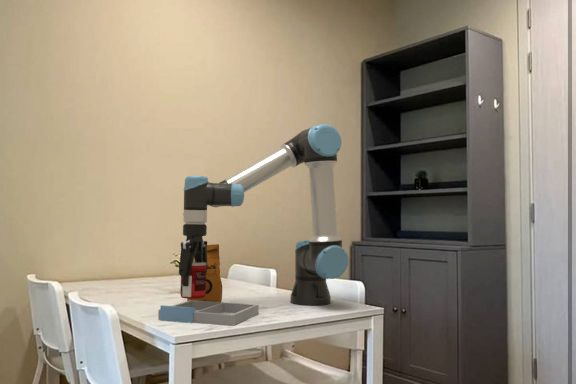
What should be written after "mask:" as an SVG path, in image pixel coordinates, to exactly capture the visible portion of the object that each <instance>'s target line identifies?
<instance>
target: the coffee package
mask: <svg viewBox="0 0 576 384" xmlns="http://www.w3.org/2000/svg"><path fill="white" fill-rule="evenodd" d="M220 259H221V257H220V244H219V243H218V244H207V266H208V270H207V273H206V294H205V297H204V298H199V299H187V298H186V301H190V300H192V301H207V302H223V300H222V299H223V283H222V278H221V267H220V266H221V262H220ZM193 262H195V257H194V260H193Z"/></svg>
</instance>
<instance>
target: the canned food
mask: <svg viewBox="0 0 576 384" xmlns="http://www.w3.org/2000/svg"><path fill="white" fill-rule="evenodd" d="M190 276H192V285H191V297H182V289H183V276H180V298H182V299H186V300H187V299H199V298H204V297H205V294H206V263H205V262H193V264H192V269H191V273H190Z"/></svg>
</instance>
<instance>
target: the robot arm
mask: <svg viewBox="0 0 576 384" xmlns="http://www.w3.org/2000/svg"><path fill="white" fill-rule="evenodd" d="M340 134H341V133H339V131H338V130H337V129H336V127H334V126H333V125H330V124H327V123H321V124H316V125H314V126H311V127H309V128H306V129H304V130H302V131H300V132H299V133H297V134H296V135H295V136H293V137H292V138H290V139H289V140H288V141H286V142H284V143H282V144H281V145H280V148H279V149H277V150H275V151H273V152H272V153H270V154H268V155H267V156H265V157H263V158H261V159H260V160H258V161H255V162H253V164H250V165H248V166H247V167H245V168H242V170H241V169H240V171H239V170H238V171H237V172H236V173H234V174H233V175H231V176H229V177H227V178H224V179H223V180H222V181H220V182H218V183H217V182H209V178H208V176H206V175H205V176H204V175H188V176H186V177H185V179H184V184H183V185H184V186H183V213H182V216H183V218H182V219H183V223H184V224H183V225H182V235H183V236H185V237H186V239H185V241H184V242H183V241H181V242H180V256H179V265H178V274H179V276H180V277H181V276H183V289H182V297H191V285H192V276H190V273H191V269H192V264H193V260H194V257H195V262H205V263H206V273H207V270H208V266H207V245H208V241H207V240H204V239H203V237H205V236H207V231H208V226H207V224H206V223H208V207H212V208H220V207H221V208H222V207H232V208H234V207H241V206H242V205H243V203H244V202H245V201H244V200H245V193H246V192H248V191H249V190H251V189H253V188H255V187H257V186H258V185H260V184H262V183H263V182H266V181H268V180H270V179H271V178H272V177H275V176H276V175H278V174H280V173H281V172H284V171H286V169H289V168H290V167H292V168H295V167H297V166H299V165H301V164H304V165H305V166H306V168H308V172H309V185H310V186H309V187H310V190H309V191H310V205H311V222H312V223H311V224H312V225H311V226H312V236H311V237H310V239H309V240H301V241H300V240H299V241H297V242H296V244H295V250H294V253H295V256H294V257H295V262H294V263H295V265H294V266H295V267H294V268H295V271H294V272H295V275H294V276H295V277H294V279H295V281H294V284H293V288H292V290H291V294H290V297H289V298H290V299H289V300H290V303H291V302H292V304H294V303H295V305H301V304H302V306H323V304H324V305H328V304H331V303H332V302H331V301H332V300H331V294H330V291H329V287H328V283H327V280H333V279H338V278H340V277H341V276H343V274H344V273H345V272H346V271H347V269H348V265H349V255H348V253H347V251H346V250H345V248H343V239H342V237H340V235H339V234H338V225H337V209H336V191H335V178H334V177H335V175H334V167H335V166H336V165H337V163H338V152H339V151H340V150H341V147H342V137H341V135H340ZM182 297H181V298H182ZM330 302H331V303H330Z"/></svg>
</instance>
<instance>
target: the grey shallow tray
mask: <svg viewBox="0 0 576 384" xmlns="http://www.w3.org/2000/svg"><path fill="white" fill-rule="evenodd" d="M258 315H259V304H254V303H253V304H251V303H250V304H249V303H238V302H237V303H236V302H235V303H234V302H223V301H221V302H207V301H192V300H190V301H187V300H186V301H183V302H180V303H178V304H174V305H160V308H159V309H158V317H157V318H158V320H159V321H163V320H166V321H165V322H176V321H180V322H179V323H188V322H190V324H193V323H194V324H195V323H197V324H207V325H209V324H210V325H220V326H221V325H222V326H232V327H233V326H236V325H238V324H241V323H242V322H244V321H247V320H248V319H251V318H253V317H255V316H258Z"/></svg>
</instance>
